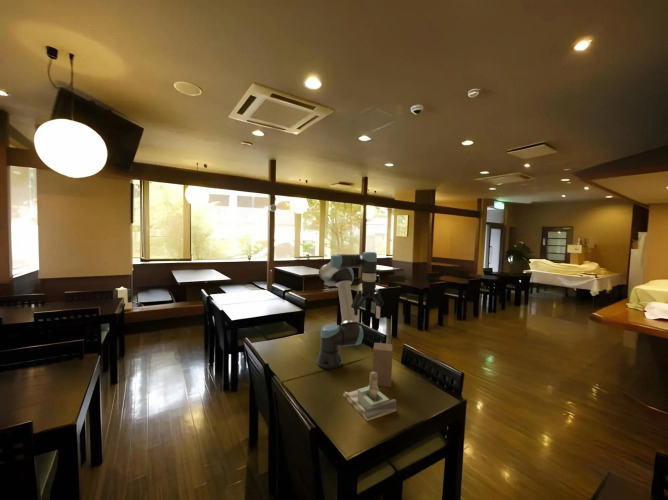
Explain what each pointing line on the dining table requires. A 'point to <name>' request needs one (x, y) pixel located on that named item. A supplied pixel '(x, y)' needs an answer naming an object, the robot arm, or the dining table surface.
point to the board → (373, 410)
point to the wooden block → (383, 363)
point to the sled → (366, 401)
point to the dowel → (373, 386)
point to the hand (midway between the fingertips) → (367, 319)
